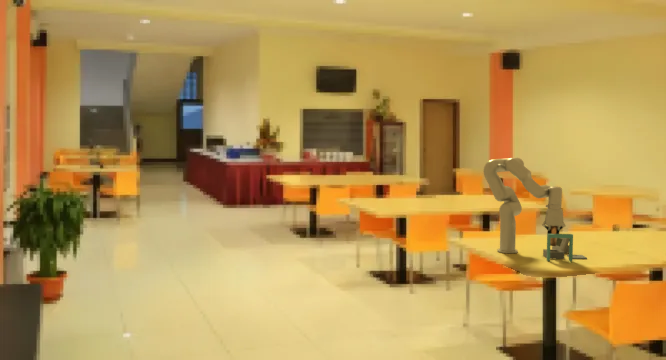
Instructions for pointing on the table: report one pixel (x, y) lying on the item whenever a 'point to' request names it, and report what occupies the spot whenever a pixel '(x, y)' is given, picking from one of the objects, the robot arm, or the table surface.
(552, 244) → the cylinder
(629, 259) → the table surface
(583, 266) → the table surface
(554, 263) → the table surface
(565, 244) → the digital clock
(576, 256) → the mat
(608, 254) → the table surface
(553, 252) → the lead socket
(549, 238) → the green arch
